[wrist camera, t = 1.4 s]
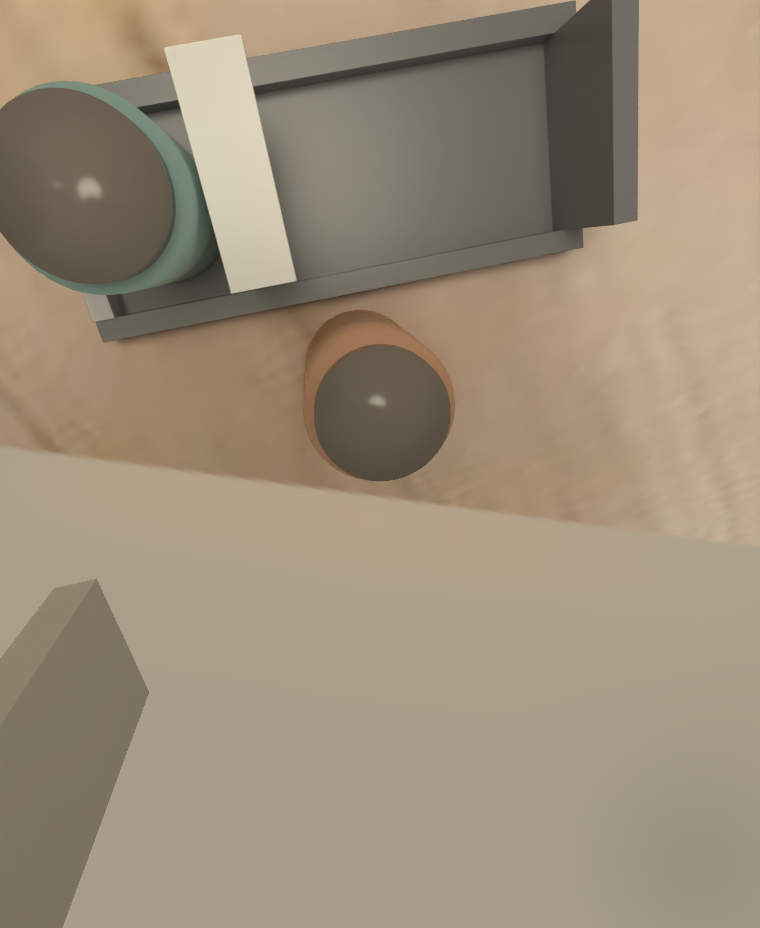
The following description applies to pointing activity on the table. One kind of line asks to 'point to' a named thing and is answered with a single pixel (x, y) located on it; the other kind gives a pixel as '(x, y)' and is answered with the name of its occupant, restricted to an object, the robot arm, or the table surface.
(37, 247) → the jar teal
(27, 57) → the table surface
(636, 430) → the table surface
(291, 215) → the lane
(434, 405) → the jar terracotta
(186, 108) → the pusher
